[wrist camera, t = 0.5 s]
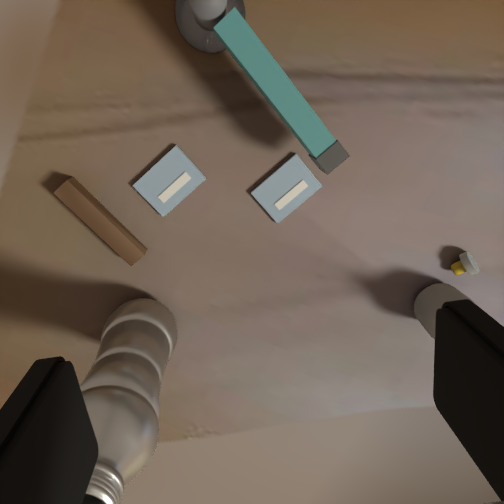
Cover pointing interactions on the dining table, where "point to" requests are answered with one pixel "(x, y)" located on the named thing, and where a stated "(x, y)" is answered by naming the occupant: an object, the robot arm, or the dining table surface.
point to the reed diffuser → (442, 294)
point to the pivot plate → (194, 32)
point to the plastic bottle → (127, 394)
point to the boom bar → (270, 81)
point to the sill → (100, 220)
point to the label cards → (189, 177)
